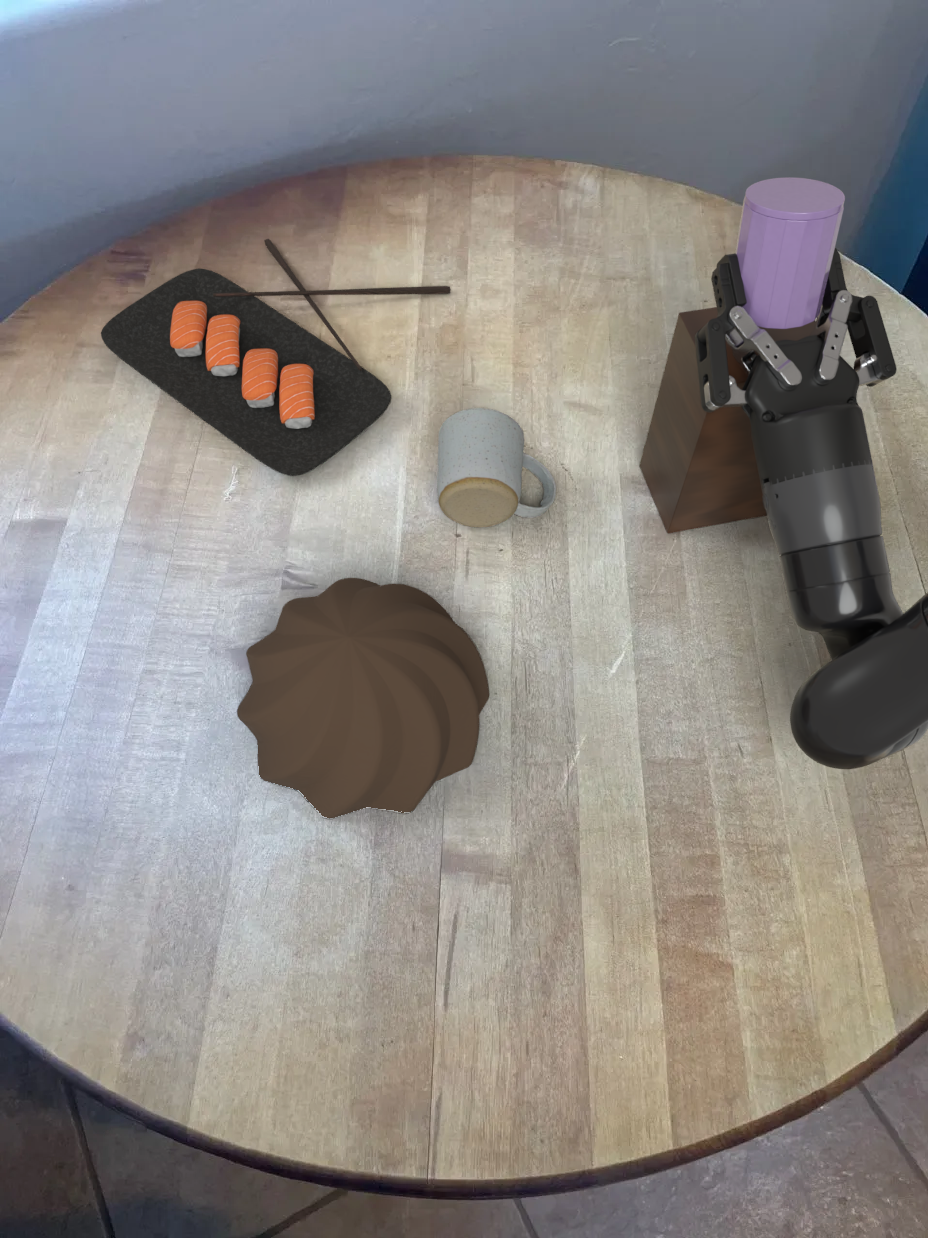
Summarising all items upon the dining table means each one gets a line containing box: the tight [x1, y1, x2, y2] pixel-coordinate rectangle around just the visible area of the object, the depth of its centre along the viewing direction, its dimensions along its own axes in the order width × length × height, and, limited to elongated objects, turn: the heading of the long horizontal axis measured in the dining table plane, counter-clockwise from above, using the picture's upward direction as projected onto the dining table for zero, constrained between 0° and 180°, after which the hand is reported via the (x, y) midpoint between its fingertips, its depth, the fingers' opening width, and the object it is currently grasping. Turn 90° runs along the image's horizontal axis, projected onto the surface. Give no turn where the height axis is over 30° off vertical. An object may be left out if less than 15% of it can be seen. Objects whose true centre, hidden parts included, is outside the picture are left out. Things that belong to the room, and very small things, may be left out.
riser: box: [638, 306, 816, 534], centre depth 80 cm, size 10×8×18 cm
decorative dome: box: [236, 577, 491, 819], centre depth 72 cm, size 19×20×10 cm
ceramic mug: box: [436, 407, 557, 528], centre depth 84 cm, size 11×8×8 cm
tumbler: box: [735, 176, 846, 329], centre depth 67 cm, size 6×6×8 cm
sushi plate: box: [100, 238, 451, 477], centre depth 96 cm, size 29×30×4 cm
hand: (772, 252), depth 68 cm, fingers closed on tumbler, 6 cm apart
